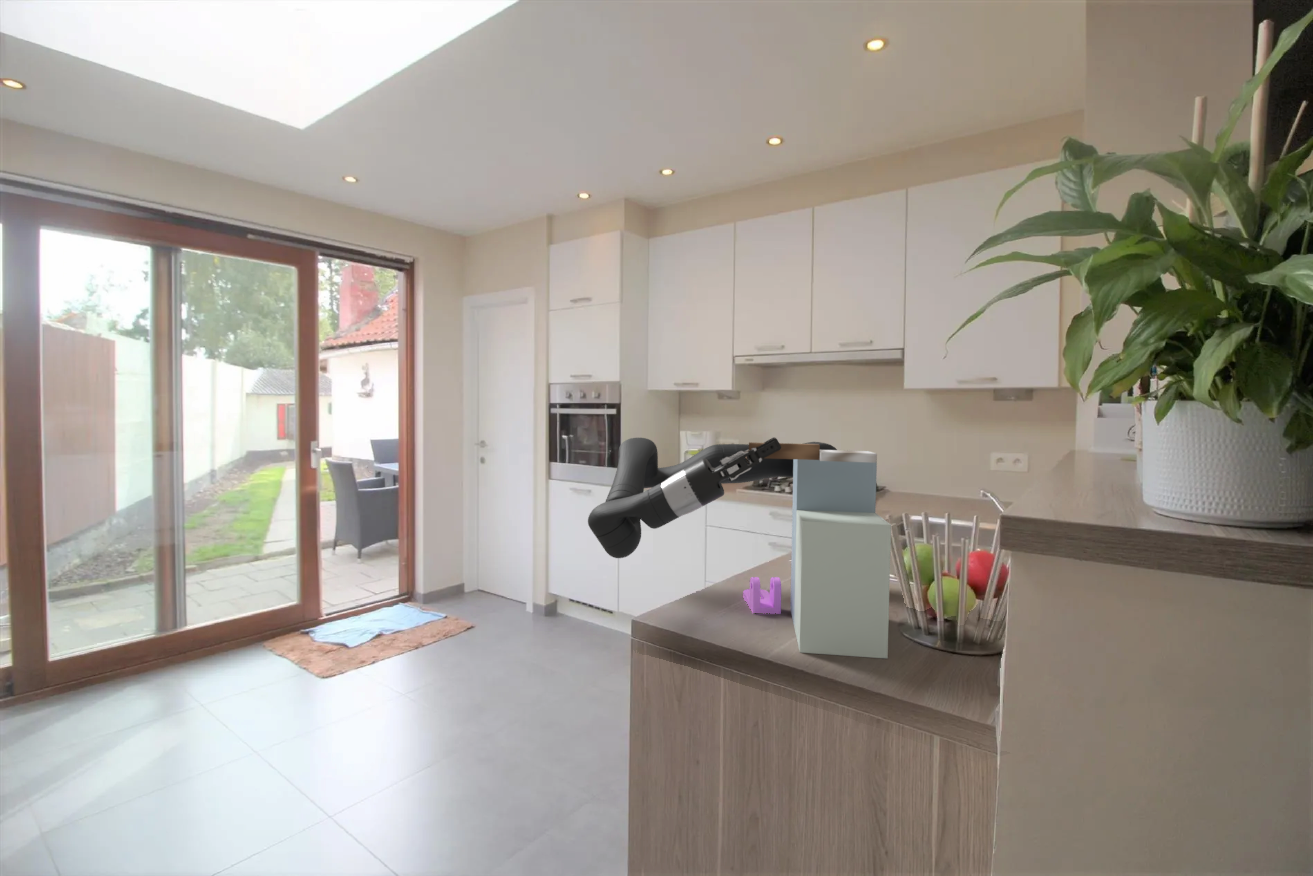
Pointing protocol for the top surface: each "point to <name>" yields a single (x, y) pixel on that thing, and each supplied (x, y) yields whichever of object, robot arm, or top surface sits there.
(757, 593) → the bracket
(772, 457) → the turner
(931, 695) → the top surface
